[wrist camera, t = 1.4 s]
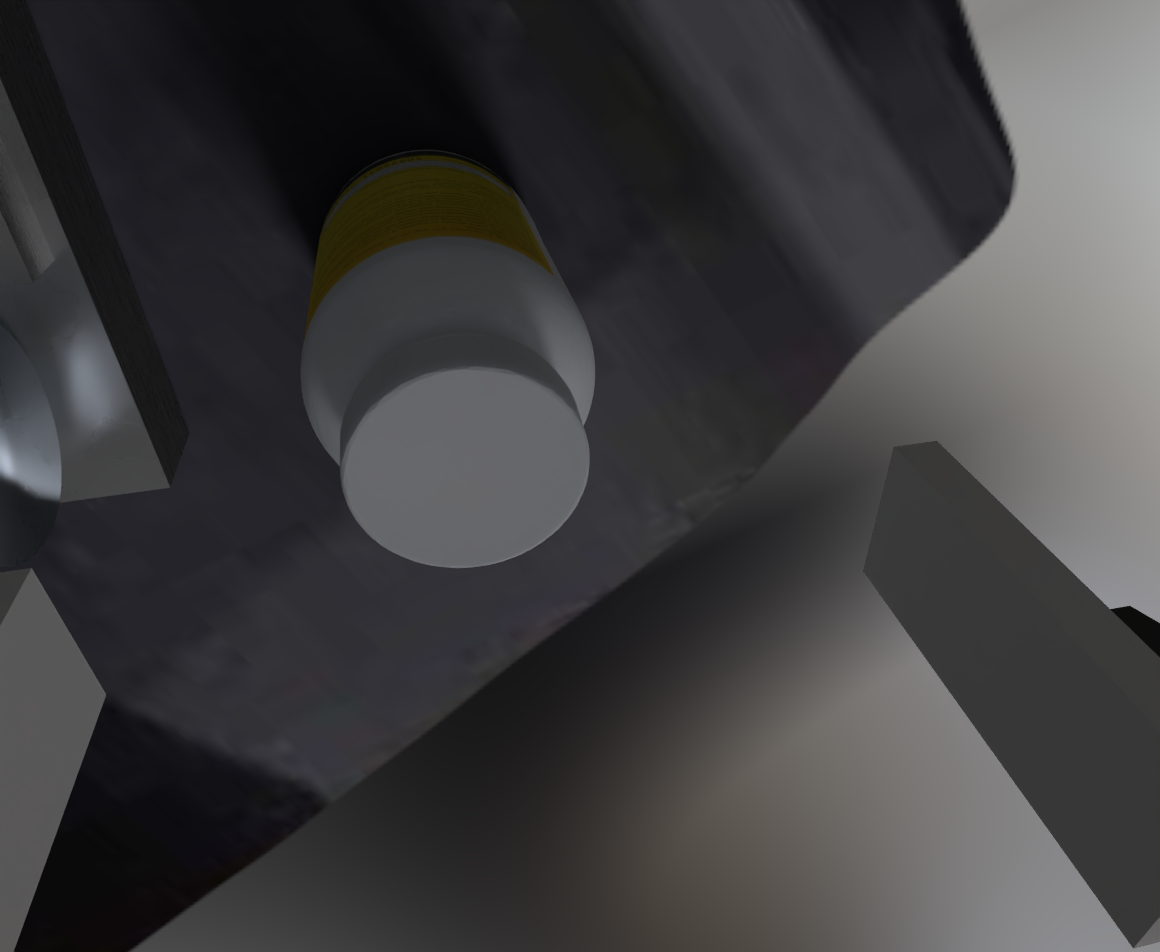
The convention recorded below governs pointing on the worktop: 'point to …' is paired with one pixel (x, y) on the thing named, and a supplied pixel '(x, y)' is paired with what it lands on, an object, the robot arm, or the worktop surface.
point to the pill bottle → (446, 363)
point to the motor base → (66, 320)
